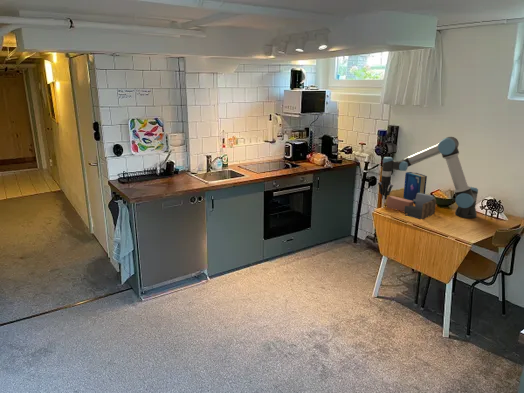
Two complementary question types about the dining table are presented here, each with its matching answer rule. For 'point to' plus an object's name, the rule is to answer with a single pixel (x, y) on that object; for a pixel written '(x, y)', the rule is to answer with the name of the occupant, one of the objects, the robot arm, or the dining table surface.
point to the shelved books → (423, 199)
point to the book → (414, 185)
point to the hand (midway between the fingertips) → (383, 202)
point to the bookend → (413, 211)
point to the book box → (398, 203)
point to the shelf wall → (428, 209)
